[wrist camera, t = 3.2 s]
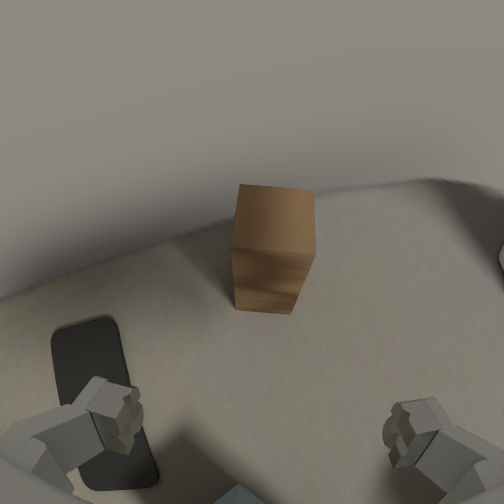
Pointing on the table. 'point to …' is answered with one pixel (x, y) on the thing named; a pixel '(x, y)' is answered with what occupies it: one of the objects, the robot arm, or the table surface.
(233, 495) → the base block
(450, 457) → the robot arm
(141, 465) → the phone
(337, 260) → the table surface
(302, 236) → the walnut post
